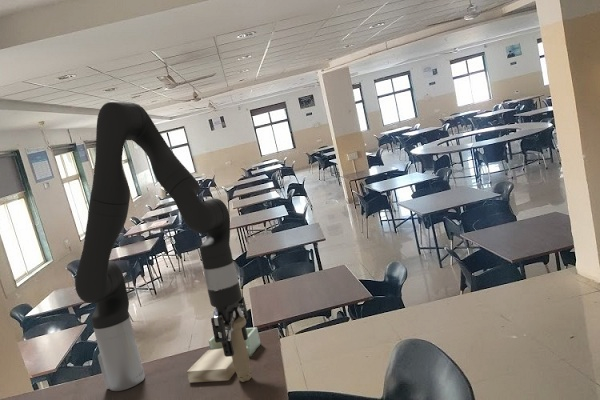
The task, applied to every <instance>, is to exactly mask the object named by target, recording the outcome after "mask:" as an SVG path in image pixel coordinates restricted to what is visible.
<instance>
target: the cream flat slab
mask: <svg viewBox="0 0 600 400" xmlns="http://www.w3.org/2000/svg"><path fill="white" fill-rule="evenodd" d="M235 373H236V371H235V368H234V364H233V360H232V356H229V357H226V356H225V355H224V350H223V349H213V350H210V349H208V350H206V351H205V352H204V353H203V354H202V355H201V356H200V358H198V360H196V361H195V363H194V364H192V365H191V367H190V368H189V369H188V370H187V371H186V374H187V378H188V382H189V383H191V384H192V383H203V382H204V383H206V382H222V381H230V380H231V378H232V377H233V376H234V375H235Z"/></svg>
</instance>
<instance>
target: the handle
mask: <svg viewBox="0 0 600 400" xmlns="http://www.w3.org/2000/svg"><path fill="white" fill-rule="evenodd" d="M246 324H247V319H245V318H244V317H238V318H237V320H236V321H235V322H234V328H233V331H232V332H231V341H232V345H233V350H234V355H233V356H232V360H233V364H234V368H235V371H236V372H235V373H236V375H237V380H238V381H240V382H242V383H244V382H248V381H250V379H252V376H253V375H252V372H251V370H252V369H251V368H252V367H251V360H250V356H249V355H248V352H247V348H246V345H245V341H244V338H243V334H242V329H241V328H242V327H244V326H246ZM228 326H229V325H228ZM228 326H225V327H228Z"/></svg>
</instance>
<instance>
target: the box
mask: <svg viewBox="0 0 600 400" xmlns="http://www.w3.org/2000/svg"><path fill="white" fill-rule="evenodd" d="M246 331H247V335H248V339H247V340H244V341H245V345H246V348H247V352H248V355H249V357H252V356H253V355H254V353H255V352H256V351H257V349H258V348H260V345H262V343H261V339H260V335H259V334H260V333H259V331H258V327H257V326H256V327H255V326H254V327H246ZM219 333H220V332H218V335H219ZM226 335H227V332H226ZM208 345H209V348H210V349H209V350H213V349H223V348H222V344H221V342H218V343H216V342H215V338H214V335H213V336H212V337H211V338H210V339H209V340H208Z"/></svg>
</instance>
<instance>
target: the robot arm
mask: <svg viewBox="0 0 600 400" xmlns="http://www.w3.org/2000/svg"><path fill="white" fill-rule="evenodd" d="M96 120H97V121H96V132H95V133H96V137H95V138H96V139H95V158H94V159H95V160H94V169H93V177H92V179H93V180H92V185H91V191H90V197H89V205H88V213H87V222H86V228H85V233H84V234H85V235H84V240H83V246H82V251H81V255H80V260H79V264H78V267H77V271H76V274H75V280H74V287H75V291H76V294H77V296H78V297H79V299H80V300H81V301H83V302H84V303H87V304H94V303H95V304H96V306H95V307H96V308H95V310H94V312H93V314H92V315H91V318H90V319H91V324H92V328H93V331H94V332H93V333H94V336H95V340H96V343H97V346H98V350H99V354H98V355H97V359H98V362H99V367H100V371H101V374H102V379H103V382H104V385H105V388H106V390H110V391H112V392H121V391H122V392H123V391H125V390H128V389H131V388H133V387H136V386H137V385H138V384H140V383H141V382H143V381H144V379H145V378H146V376H145V372H144V367H143V363H142V359H141V355H140V353H139V348H138V345H137V340H136V336H135V333H134V328H133V326H132V322H131V321H132V320H131V317H130V313H129V305H130V303H129V302H130V301H129V295H128V291H127V290H128V289H127V286H126V281H125V277H124V273H123V271H122V269H121V268H120V266H119V265H118V264H117V263H116V262H115V261H112V260H110V259H111V253H112V251H113V249H114V246H115V245H116V242H117V240H118V238H119V236H120V235H121V233H122V231H123V228H124V226H125V224H126V222H127V218H128V213H129V207H130V200H131V199H130V198H131V190H130V186H129V183H128V180H127V177H126V175H125V171H124V167H123V153H124V151H123V150H124V147H125V142H126V141H133V142H134V143H135V144H136V145H138V146H139V147H140V148H141V149H142V151H144V153H145V154H146V156H147V157H148V159H149V162H150V164H151V165H150V166H151V169H152V172H153V174H154V177H155V178H156V180H157V181H158V183H159V184H160V185H161V187H162V188H163V189H164V190H165V192H167V194H168V195H169V196H170V197H171V198H172V200H173V201H174V203H175V205H176V207H177V210H178V212H179V213H180V216H181V218H182V220H183V222H184V223H185V225H186V226H187V227H188V229H190V230H191V231H193V232H194V233H196V234H200V235H201V234H202V235H203V234H206V239H205V240H204V242H202V244H201V245H200V248H199V253H200V257H201V261H202V262H201V263H202V266H203V267H202V268H203V271H204V272H203V274H204V280H205V284H206V289H207V294H208V297H209V302H210V305H211V306H212V307H213V308H215V309H217V312H216V316H212V317H210V322H211V326H212V332H213V336H214V338H215V342H216V343H218V342H221V343H222V346H223V350H224V355H225V356H226V357H229V356H233V355H234V350H233V345H232V341H231V332H232V331H233V328H234V322H235V321H236V320H237V318H238V317H244V318H245V319H246V320H249V313H248V309H247V306H246V301H245V298H244V296H243V295H242V291H241V287H240V286H241V285H240V282H239V277H238V272H237V269H236V266H235V264H234V258H233V254H232V251H231V250H232V249H231V246H230V240H231V216H230V212H229V209H228V207H227V205H226V204H225V202H224V201H222V200H221V199H220V198H215V197H214V198H210V199H206V200H203V201H201V200H200V199H199V197H198V194H199V193H200V190H201V185H200V183H199V181H198V180H197V179H196V178H195V177H194V176H193V174H191V172H190V171H189V170H188V168H187V167H186V166H184V164H183V163H182V162H181V161H180V160H179V159H178V157H177V156H176V155H175V153H174V152H173V151H172V150H171V148H170V146H169V145H168V143H167V142H166V140H165V139H164V137H163V136H162V133H160V131H159V129H158V128H157V126H156V125H155V123H154V121H153V120H152V118H151V116H150V115H149V114H148V112H147V111H146V110H145V109H144V107H143V106H141V105H140V104H138V103H135V102H129V101H128V102H127V101H126V102H125V101H114V100H111V101H107V102H105V103H104V104H103V105H102V106H101V108H100V109H99V112H98V114H97V119H96ZM228 325H229V326H228ZM225 326H228V327H225ZM246 328H247V327H246V325H245V326H244V327H242V328H241V329H242V334H243V338H244V340H247V339H248V335H247V331H246ZM218 332H220V333H219V335H218ZM226 332H227V336H226Z"/></svg>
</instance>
